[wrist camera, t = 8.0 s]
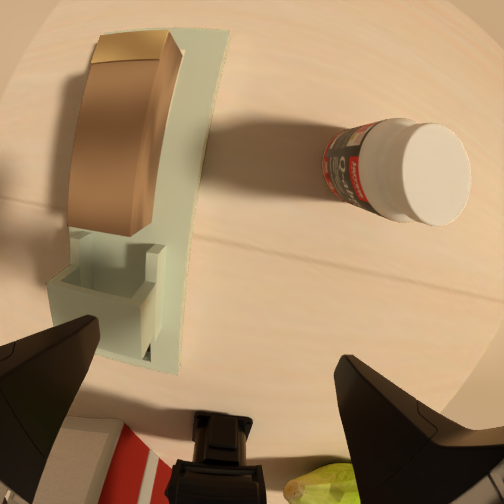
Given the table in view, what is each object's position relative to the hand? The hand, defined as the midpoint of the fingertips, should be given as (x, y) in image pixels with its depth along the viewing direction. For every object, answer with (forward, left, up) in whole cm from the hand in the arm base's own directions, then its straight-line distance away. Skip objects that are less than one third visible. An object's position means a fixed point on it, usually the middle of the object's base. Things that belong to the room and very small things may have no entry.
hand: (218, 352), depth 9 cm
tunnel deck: (+2, +8, -12) cm, 15 cm away
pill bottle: (+8, -8, -12) cm, 17 cm away
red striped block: (-36, +14, -12) cm, 41 cm away
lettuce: (-34, -22, -12) cm, 43 cm away
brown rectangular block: (+8, +8, -10) cm, 15 cm away
